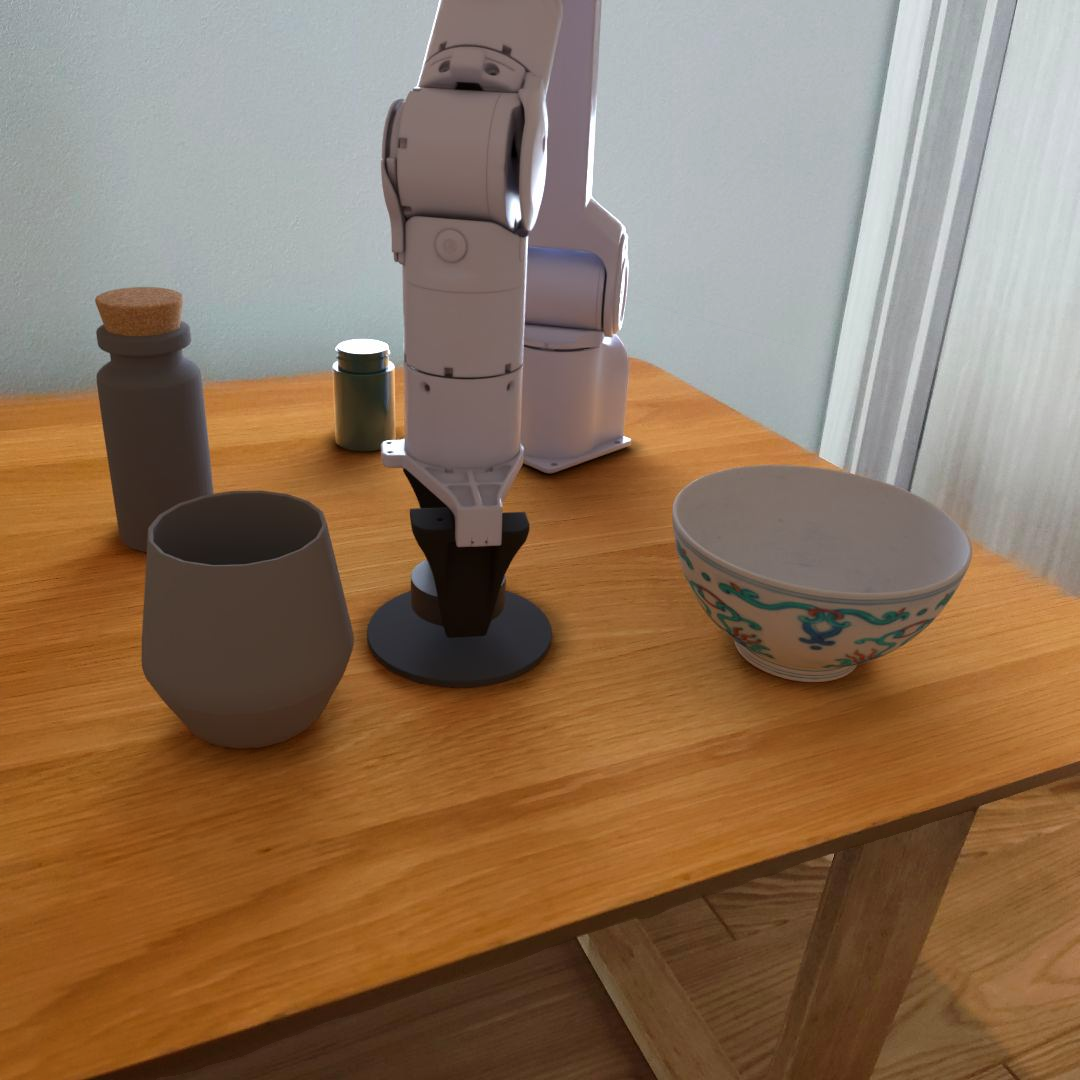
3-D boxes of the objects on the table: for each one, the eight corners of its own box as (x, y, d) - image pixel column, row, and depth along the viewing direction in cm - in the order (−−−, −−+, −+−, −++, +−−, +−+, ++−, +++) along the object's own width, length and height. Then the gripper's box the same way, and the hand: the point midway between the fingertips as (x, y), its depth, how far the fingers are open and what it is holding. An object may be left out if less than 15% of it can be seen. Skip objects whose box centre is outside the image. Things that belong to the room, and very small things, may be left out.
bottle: (189, 559, 64) (160, 314, 57) (100, 547, 65) (61, 303, 58) (233, 519, 69) (211, 289, 62) (150, 507, 70) (120, 279, 63)
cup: (191, 653, 55) (169, 476, 50) (370, 663, 55) (365, 487, 50) (120, 771, 46) (86, 571, 42) (333, 784, 46) (322, 584, 42)
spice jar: (370, 425, 85) (367, 333, 82) (407, 441, 82) (406, 347, 79) (323, 439, 82) (318, 344, 79) (360, 456, 79) (357, 359, 76)
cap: (492, 576, 60) (493, 549, 59) (517, 621, 55) (518, 593, 55) (402, 586, 58) (402, 558, 57) (421, 633, 54) (421, 604, 53)
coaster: (468, 572, 64) (468, 566, 64) (589, 639, 58) (590, 633, 58) (329, 629, 58) (329, 623, 57) (449, 712, 51) (449, 705, 51)
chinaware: (994, 722, 53) (1034, 587, 49) (705, 742, 50) (725, 601, 47) (864, 576, 66) (888, 461, 62) (630, 586, 63) (641, 467, 60)
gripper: (374, 319, 56) (379, 546, 62) (385, 414, 44) (391, 687, 50) (505, 319, 58) (498, 541, 64) (553, 412, 45) (539, 678, 51)
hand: (460, 605), depth 57 cm, fingers closed on cap, 5 cm apart
